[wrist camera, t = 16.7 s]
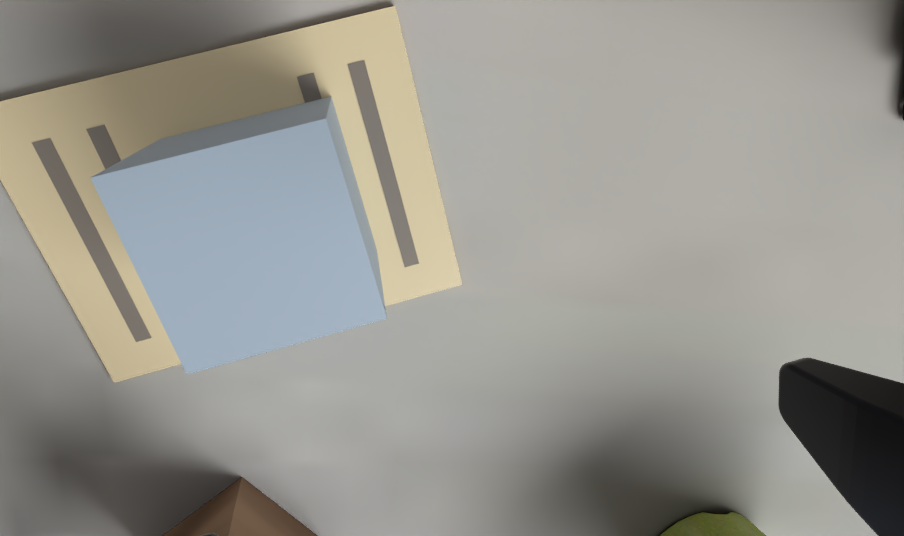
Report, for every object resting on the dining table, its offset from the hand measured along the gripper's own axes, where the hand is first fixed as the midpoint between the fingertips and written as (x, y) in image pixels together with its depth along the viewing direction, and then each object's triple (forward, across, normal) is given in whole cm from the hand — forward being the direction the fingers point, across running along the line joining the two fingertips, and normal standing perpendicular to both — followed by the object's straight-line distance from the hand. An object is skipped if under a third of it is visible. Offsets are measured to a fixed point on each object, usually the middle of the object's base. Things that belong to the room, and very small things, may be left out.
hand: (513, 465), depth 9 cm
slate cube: (+11, +4, -2) cm, 12 cm away
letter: (+11, +5, -2) cm, 13 cm away
